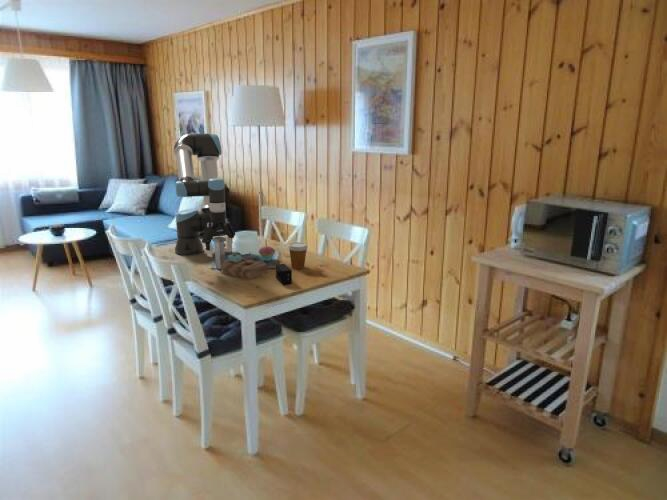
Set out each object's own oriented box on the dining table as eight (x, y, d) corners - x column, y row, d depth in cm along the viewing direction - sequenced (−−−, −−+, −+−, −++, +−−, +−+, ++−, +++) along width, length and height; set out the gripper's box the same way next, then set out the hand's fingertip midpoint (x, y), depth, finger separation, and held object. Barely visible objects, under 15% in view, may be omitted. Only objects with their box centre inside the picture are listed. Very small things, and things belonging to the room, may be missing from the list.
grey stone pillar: (213, 268, 228) (212, 238, 224) (220, 266, 232) (219, 236, 228) (220, 270, 226) (219, 239, 222) (227, 267, 230) (225, 237, 226)
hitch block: (222, 272, 222) (221, 261, 221) (239, 266, 232) (238, 255, 230) (250, 280, 213) (250, 268, 212) (266, 273, 223) (266, 262, 221)
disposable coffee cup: (304, 271, 227) (304, 247, 224) (286, 269, 229) (285, 246, 226) (309, 265, 236) (309, 242, 233) (291, 263, 238) (291, 241, 235)
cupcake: (273, 262, 240) (273, 240, 236) (257, 262, 240) (257, 239, 237) (276, 257, 248) (275, 236, 245) (260, 257, 248) (259, 235, 245)
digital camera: (273, 278, 216) (273, 264, 214) (284, 277, 218) (284, 263, 216) (280, 285, 207) (280, 271, 205) (291, 284, 209) (291, 269, 207)
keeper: (228, 260, 224) (228, 254, 223) (234, 258, 227) (233, 252, 226) (235, 262, 221) (235, 255, 220) (241, 260, 224) (241, 253, 224)
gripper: (203, 215, 209) (206, 260, 215) (241, 208, 229) (242, 248, 235) (192, 214, 213) (195, 257, 218) (230, 206, 233) (232, 246, 239)
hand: (220, 253), depth 227 cm, fingers open, 13 cm apart
